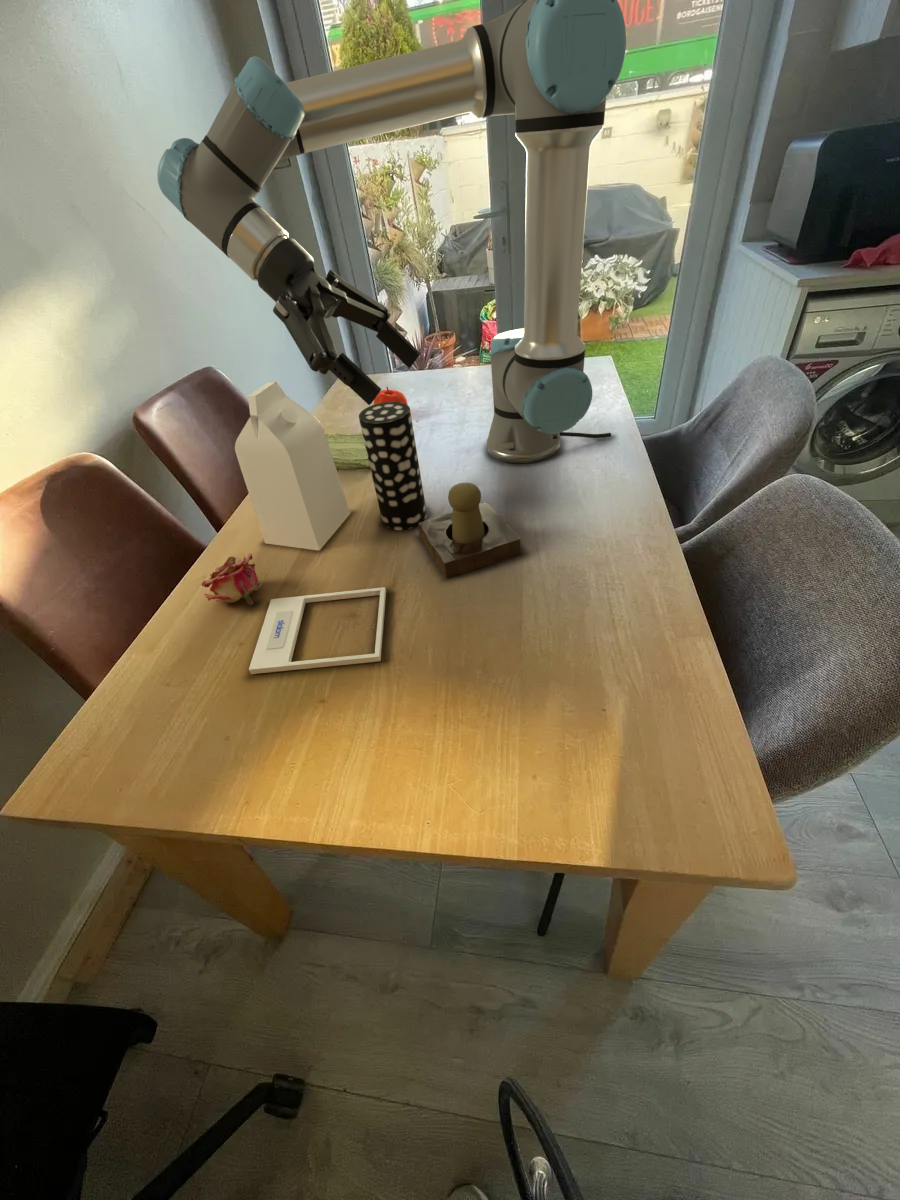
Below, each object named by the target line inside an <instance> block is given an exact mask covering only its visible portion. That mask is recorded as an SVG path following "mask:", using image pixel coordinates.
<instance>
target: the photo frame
mask: <svg viewBox="0 0 900 1200" xmlns="http://www.w3.org/2000/svg"><path fill="white" fill-rule="evenodd" d="M375 596H379V600H378V601H379V603H378V611H377V612H378V614H377V622H376V623H377V624H376V635H375V645H374V653H367V654H365V653H364V654H357V655H347V656H336V657H326V658H316V659H307V660H296V661H292V660H293V657H294V650H295V648H296V644H297V639H298V635H299V631H300V628H301V623H302V620H303V615H304V611H305V607H306V604H309V603H316V602H317V603H319V602H326V601H335V600H346V599H354V598H363V597H375ZM386 596H387V589H386V586H384V587H374V588H363V589H356V590H355V589H354V590H346V591H337V592H335V591H334V592H325V593H317V594H308V595H307V594H306V595H299V596H298V595H297V596H289V597H280V598H279V597H278V598H271V599H270V601H269V605H268V608H267V611H266V614H265V617H264V621H263V623H262V625H261V630H260V633H259V635H258V639H257V642H256V645H255V648H254V652H253V655H252V658H251V661H250V664H249V667H248V671H249V673H250V675H256V674H265V673H266V674H267V673H277V672H286V671H297V670H306V669H316V668H326V667H336V666H337V667H338V666H347V665H357V664H367V663H376V662H381V659H382V647H383V637H384V636H383V635H384V625H385V624H384V622H385V611H386V599H387V597H386Z"/></svg>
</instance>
